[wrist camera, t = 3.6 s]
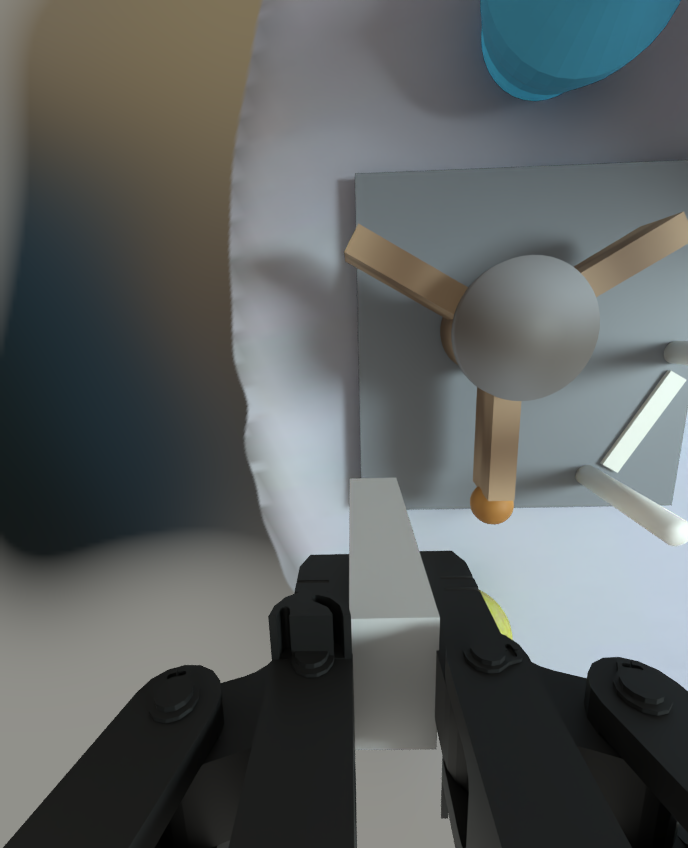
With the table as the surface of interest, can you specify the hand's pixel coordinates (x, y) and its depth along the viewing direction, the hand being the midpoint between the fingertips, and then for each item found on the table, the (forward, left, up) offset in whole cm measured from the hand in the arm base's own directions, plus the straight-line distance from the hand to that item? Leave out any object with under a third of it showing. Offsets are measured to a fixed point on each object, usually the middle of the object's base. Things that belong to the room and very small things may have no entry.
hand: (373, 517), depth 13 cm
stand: (-4, +10, -15) cm, 19 cm away
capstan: (-3, +7, -14) cm, 16 cm away
